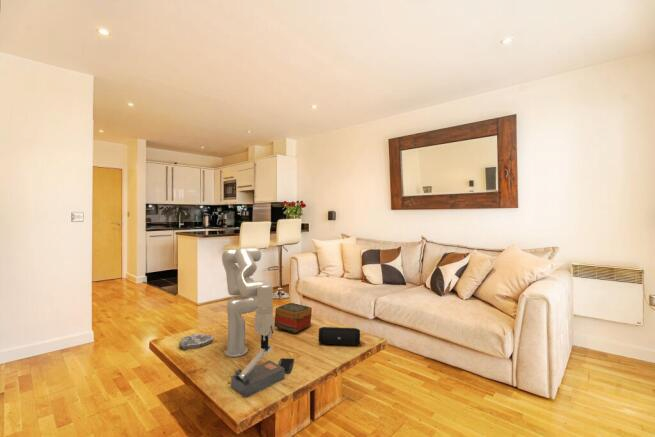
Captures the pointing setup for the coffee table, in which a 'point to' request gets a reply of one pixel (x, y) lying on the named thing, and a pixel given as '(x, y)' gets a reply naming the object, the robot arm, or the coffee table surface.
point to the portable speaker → (339, 335)
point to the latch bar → (254, 362)
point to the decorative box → (292, 317)
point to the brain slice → (195, 341)
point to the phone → (286, 364)
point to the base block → (257, 378)
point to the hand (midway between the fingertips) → (264, 347)
